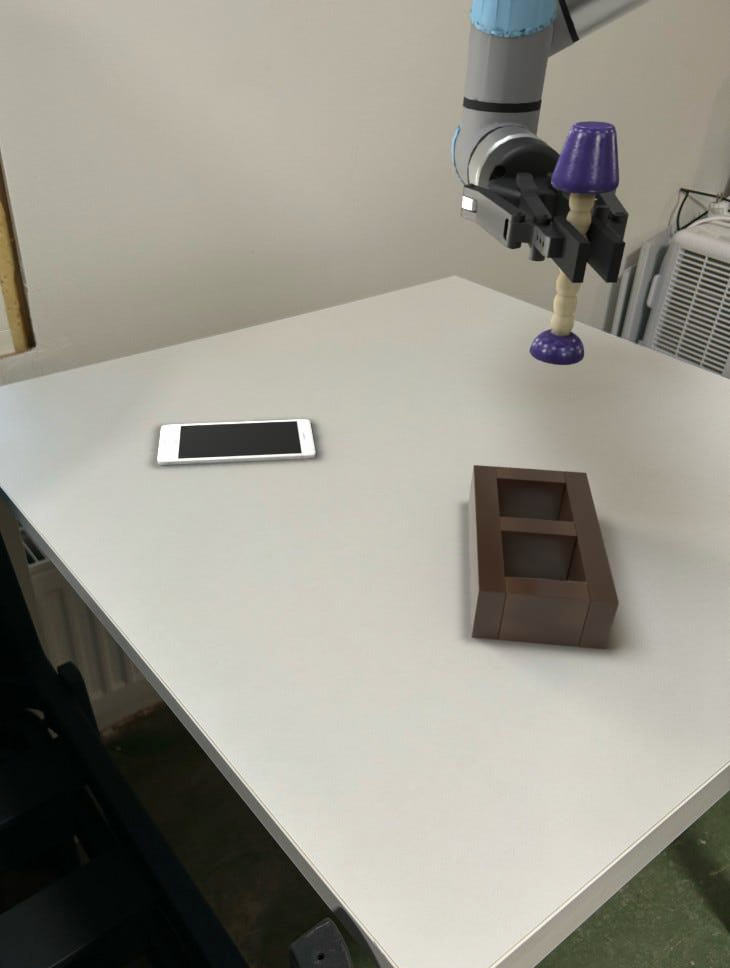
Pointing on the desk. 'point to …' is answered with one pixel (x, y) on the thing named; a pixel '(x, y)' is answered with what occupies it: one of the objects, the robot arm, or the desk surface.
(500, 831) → the desk surface
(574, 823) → the desk surface
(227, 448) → the cell phone
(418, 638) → the desk surface
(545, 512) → the stand
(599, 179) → the toy lamp
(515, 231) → the robot arm
